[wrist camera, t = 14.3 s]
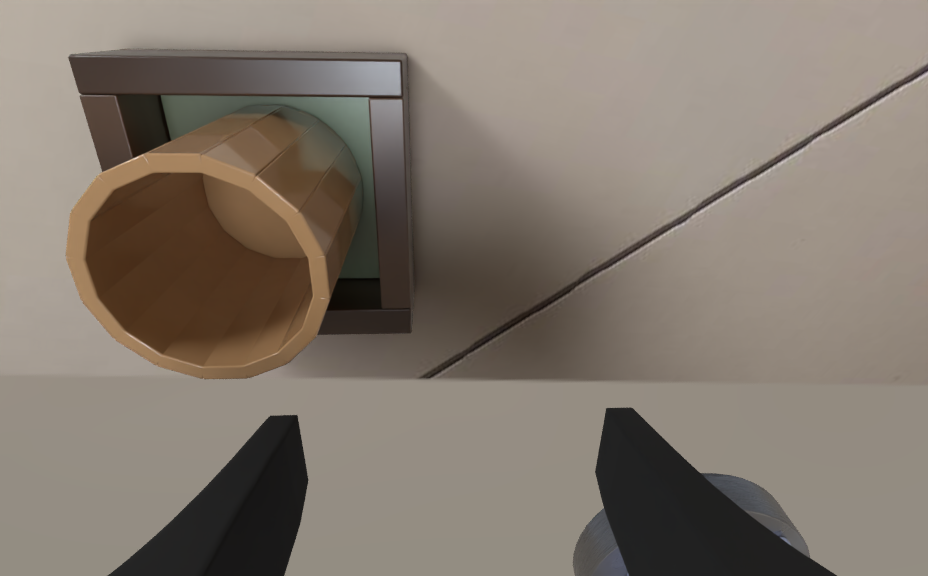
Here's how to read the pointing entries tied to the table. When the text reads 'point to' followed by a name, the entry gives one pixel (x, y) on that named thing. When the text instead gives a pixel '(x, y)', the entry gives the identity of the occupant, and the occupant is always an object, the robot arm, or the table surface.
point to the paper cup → (220, 242)
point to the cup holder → (295, 85)
